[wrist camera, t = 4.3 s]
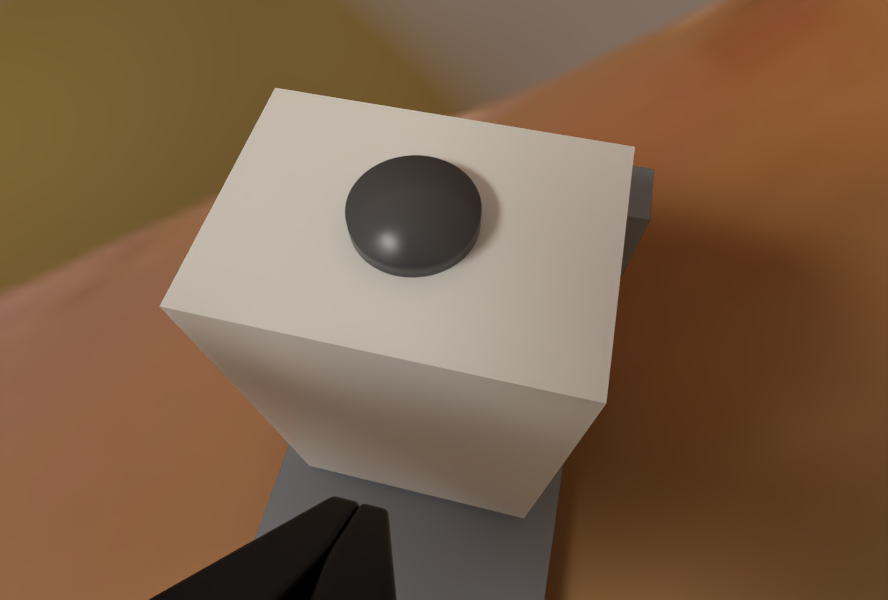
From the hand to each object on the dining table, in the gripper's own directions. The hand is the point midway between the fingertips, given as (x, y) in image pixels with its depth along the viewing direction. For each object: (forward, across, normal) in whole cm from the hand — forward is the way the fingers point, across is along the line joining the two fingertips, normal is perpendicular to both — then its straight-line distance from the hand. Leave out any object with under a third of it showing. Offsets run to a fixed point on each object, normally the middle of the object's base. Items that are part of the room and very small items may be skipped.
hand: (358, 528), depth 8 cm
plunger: (+7, 0, +2) cm, 7 cm away
